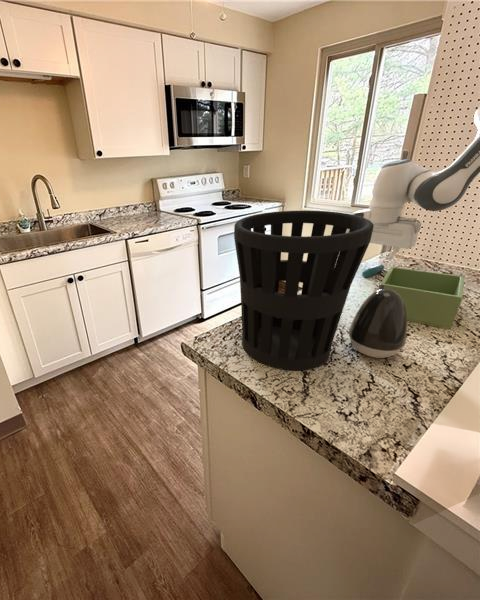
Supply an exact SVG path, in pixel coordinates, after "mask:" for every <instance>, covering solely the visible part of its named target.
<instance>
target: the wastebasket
mask: <svg viewBox="0 0 480 600" xmlns="http://www.w3.org/2000/svg"><path fill="white" fill-rule="evenodd" d="M284 224H291V230H290V231H291V232H290V235H283V229H284ZM304 224H312V229H311V234H310V236H309V235H308V236H303V229H304ZM266 226H270V234H269V233H266ZM327 226H332V228H331V231H330V232H331V233H330V235H325V231H326V227H327ZM233 227H234V228H233V239H234V247H235V252H236V259H237V265H238V273H239V287H240V307H241V309H240V310H241V328H242V329H241V331H242V333H241V345H242V348H243V350H244V351H245V353H246V354H247V355H248V356H249V357H250V358H251V359H253V360H255V361H256V362H258V363H260V364H262V365H264V366H267V367H270V368H274V369H277V370H283V371H291V372H303V371H309V370H315V369H317V368H320V367H322V366H323V365H324V364H326V363H327V362H328V360H330V359H329V358H330V355H331V350H332V345H333V342H334V338H335V336H336V332H337V329H338V326H339V323H340V321H341V317H342V314H343V311H344V308H345V306H346V305H345V304H346V302H347V301H346V300H347V299H348V295H349V292H350V289H351V286H352V284H353V281H354V279H355V277H356V275H357V273H358V270H359V268H360V265H361V263H362V261H363V258H364V256H365V254H366V252H367V250H368V247H369V245H370V244H371V243H370V240H371V236H372V232H373V227H374V225H373V223H372V222H371V221H370V220H368V219H366V218H363V217H360V216H356V215H352V213H346V212H339V211H329V210H282V211H281V210H280V211H271V212H264V213H257V214H252V215H249V216H244V217H241V218H240V219H238V220H237V221H236V222H235V223H234V226H233ZM347 229H350V230H349V233H346V230H347ZM282 253H285V254H287V259H282ZM305 254H307V256H306V260H304V255H305ZM280 282H285V283H284V284H285V285H284V292H279V288H280V287H279V286H280ZM300 283H301V284H302V285H301V293H300V294H298V292H299V286H300Z"/></svg>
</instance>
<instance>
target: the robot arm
mask: <svg viewBox="0 0 480 600" xmlns="http://www.w3.org/2000/svg"><path fill="white" fill-rule="evenodd" d="M474 125H475V128H476V129H477V134H476V137H475V138H474V140H473V141H472V142H471V143H470V144H469V145H468V146H467V147H466V149H464V151H463V152H462V153H461V154H460V155H459V156H458V157H457V158H456V159H455V160H454V161H453V162H452V163H451V164H450V165H449V166H448V167H447V168H444V169H443V170H441V171H438V170H433V169H431V168H427V167H424V166H421V165H420V164H417V163H415V162H414V161H413V160H412V159H399V160H398V159H397V160H393V161H390V162H387V163H384V164H383V165H382V166H381V167H380V168H379V170H378V171H377V174H376V177H375V180H374V183H373V188H372V199H371V201H370V202H369V205H368V208H364V209H362V210H361V209H360V210H356V211H355V212H352V213H351V214H352V215H356V216H360V217H363V218H366V219H368V220H370V221H371V222H372V223H373V225H374V227H373V232H372V236H371V240H370V243H369V244H374V245H380V246H386V247H392V248H391V250H392V251H391V252H388V253H386V257H385V259H386V260H389V261H392V260H393V259H394V257H395V255H396V254H397V253H398V252H399V251H400V250H401V249H405V250H409V249H411V248H414V247H415V246H416V245H417V241H418V235H419V232H420V230H421V228H422V227H421V226H422V222H421V221H420V220H418V219H417V218H415V217H406V216H402V213H403V209H404V206H405V204H406V203H413V204H415V205H417V206H419V207H421V208H422V209H424V210H426V211H429V212H440V211H444V210H446V209H449V208H451V207H453V206H455V205H456V204H457V203H458V202H459V201H461V199H462V198H463V197H464V195H465V193H466V192H467V190H468V188H469V187H470V185H471V183H472V182H473V181H474V179H475V178H476V177H477V176H478V175H479V174H480V106H479V107H478V109H476V111H475V114H474ZM349 230H350V229H347V230H346V233H349Z"/></svg>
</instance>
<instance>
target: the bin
mask: <svg viewBox="0 0 480 600" xmlns="http://www.w3.org/2000/svg"><path fill="white" fill-rule="evenodd" d="M465 278H466V276H465V275H457V274H449V273H443V272H436V271H435V272H434V271H427V270H420V269H413V268H405V267H398V266H397V267H396V266H390V268H389V269H388V270H387V272H386V274H385V276H384V277H383V279H382V280H381V282H380V283H379V285H381V284H382V285H384V286H385V289H390V290H393V291H395V292H397V293H398V294H399V295H400V296H401V298H402V299H403V302H404V304H405V308H406V315H407V321H409V322H414V323H418V324H422V325H427V326H432V327H436V328H441V329H445V330H451V328H452V326H453V323H454V321H455V318H456V316H457V313H458V310H459V308H460V306H461V303H462V300H463V296H464V287H465Z"/></svg>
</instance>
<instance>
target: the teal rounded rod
mask: <svg viewBox="0 0 480 600" xmlns="http://www.w3.org/2000/svg"><path fill="white" fill-rule="evenodd" d="M384 269H385V265H384V264H382V263H380V264H376V265H374V266H371V267H369V268H367V269H364V270H363V271H362V273H361V275H362V277H364V278H370V277H372V276H374V275H376V274H378V273H380V272H383V271H384Z"/></svg>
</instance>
